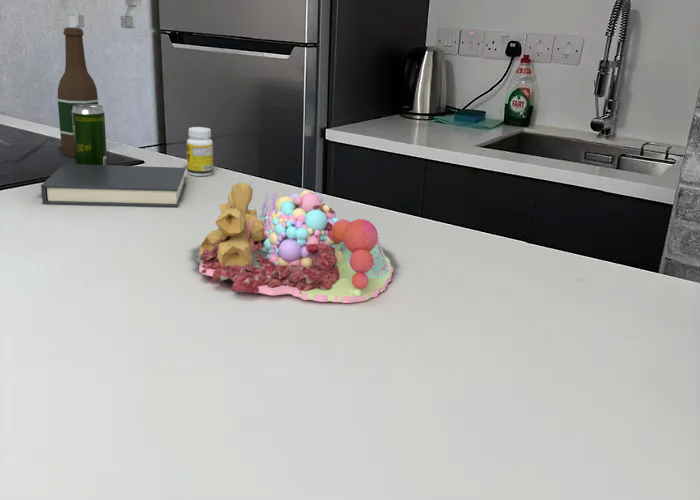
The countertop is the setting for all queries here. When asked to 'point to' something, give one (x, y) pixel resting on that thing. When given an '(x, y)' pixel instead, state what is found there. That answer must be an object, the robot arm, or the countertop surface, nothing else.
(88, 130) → the beer can
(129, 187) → the book
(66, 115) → the beer bottle
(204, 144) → the supplement bottle
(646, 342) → the countertop surface
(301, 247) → the candy landscape model
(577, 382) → the countertop surface
